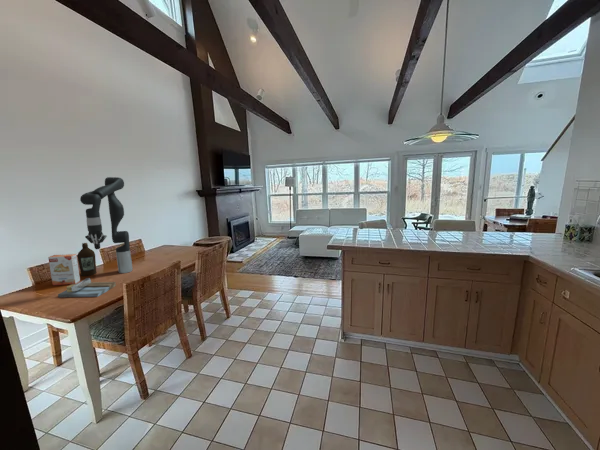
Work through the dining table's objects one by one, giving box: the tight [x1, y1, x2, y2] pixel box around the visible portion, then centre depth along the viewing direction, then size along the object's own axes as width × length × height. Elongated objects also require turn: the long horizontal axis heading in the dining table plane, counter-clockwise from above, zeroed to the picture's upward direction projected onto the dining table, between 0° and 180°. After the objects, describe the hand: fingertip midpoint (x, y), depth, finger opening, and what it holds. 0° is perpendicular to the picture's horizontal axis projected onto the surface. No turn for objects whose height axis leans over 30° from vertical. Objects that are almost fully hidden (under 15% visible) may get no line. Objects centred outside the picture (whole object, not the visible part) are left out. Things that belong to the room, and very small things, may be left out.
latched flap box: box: [57, 281, 117, 298], centre depth 167 cm, size 17×24×6 cm
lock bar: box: [71, 277, 92, 291], centre depth 167 cm, size 14×3×4 cm, turn 7°
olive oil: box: [76, 242, 97, 277], centre depth 198 cm, size 11×11×25 cm
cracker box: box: [47, 253, 81, 286], centre depth 179 cm, size 14×6×21 cm, turn 101°
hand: (97, 249), depth 172 cm, fingers closed
